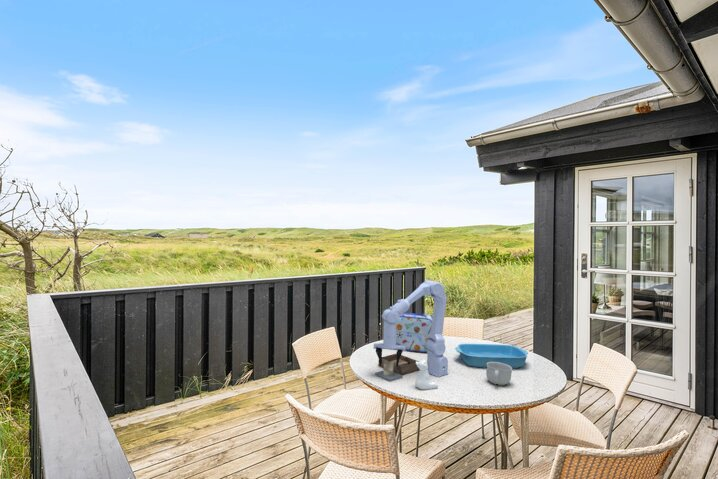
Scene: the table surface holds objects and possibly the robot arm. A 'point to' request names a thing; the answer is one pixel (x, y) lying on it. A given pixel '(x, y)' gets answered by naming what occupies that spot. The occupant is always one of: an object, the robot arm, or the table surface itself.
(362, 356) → the table surface
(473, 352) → the casserole dish
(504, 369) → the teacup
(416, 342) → the lunch box
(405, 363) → the walnut crate
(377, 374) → the slate mat
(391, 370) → the metal block
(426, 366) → the white creature statuette
